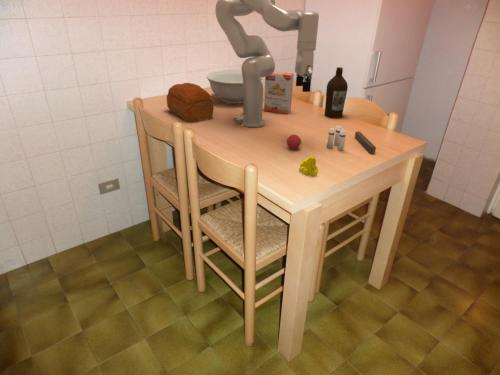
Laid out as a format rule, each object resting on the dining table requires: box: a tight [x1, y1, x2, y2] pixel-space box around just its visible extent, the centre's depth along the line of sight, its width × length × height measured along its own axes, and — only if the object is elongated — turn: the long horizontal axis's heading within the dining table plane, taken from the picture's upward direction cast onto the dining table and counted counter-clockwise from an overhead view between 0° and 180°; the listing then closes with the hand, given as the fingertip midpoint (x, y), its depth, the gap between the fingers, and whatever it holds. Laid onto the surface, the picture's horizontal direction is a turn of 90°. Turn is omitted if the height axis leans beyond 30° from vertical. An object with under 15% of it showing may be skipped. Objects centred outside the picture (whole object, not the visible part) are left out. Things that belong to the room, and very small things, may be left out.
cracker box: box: [263, 70, 295, 115], centre depth 192 cm, size 14×6×21 cm, turn 68°
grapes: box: [298, 154, 319, 177], centre depth 132 cm, size 6×8×8 cm
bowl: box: [206, 69, 263, 104], centre depth 211 cm, size 32×32×15 cm
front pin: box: [326, 127, 336, 149], centre depth 153 cm, size 2×2×8 cm
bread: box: [166, 82, 215, 123], centre depth 186 cm, size 16×27×16 cm, turn 38°
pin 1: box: [333, 125, 343, 147], centre depth 155 cm, size 2×2×8 cm
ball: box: [286, 134, 302, 150], centre depth 151 cm, size 6×6×6 cm
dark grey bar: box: [354, 131, 377, 155], centre depth 156 cm, size 2×18×3 cm, turn 6°
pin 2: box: [337, 129, 347, 151], centre depth 151 cm, size 2×2×8 cm
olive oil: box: [324, 66, 349, 119], centre depth 186 cm, size 11×11×25 cm
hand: (302, 88), depth 152 cm, fingers open, 9 cm apart
